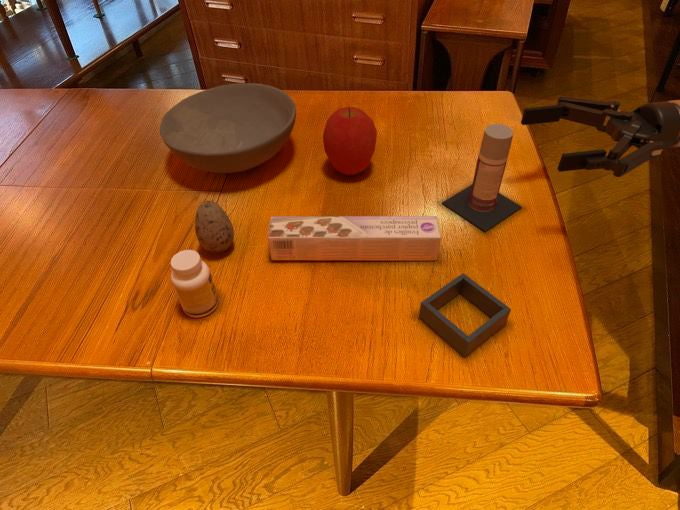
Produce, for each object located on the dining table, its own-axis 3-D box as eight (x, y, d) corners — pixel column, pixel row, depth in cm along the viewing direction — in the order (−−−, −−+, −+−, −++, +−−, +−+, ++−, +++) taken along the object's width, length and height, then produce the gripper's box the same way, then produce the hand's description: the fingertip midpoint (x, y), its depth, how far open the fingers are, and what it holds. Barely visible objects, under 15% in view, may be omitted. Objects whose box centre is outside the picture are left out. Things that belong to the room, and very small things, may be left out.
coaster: (521, 208, 87) (522, 206, 87) (484, 232, 83) (485, 231, 83) (478, 182, 93) (478, 180, 92) (441, 204, 88) (442, 202, 88)
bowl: (263, 208, 89) (255, 163, 82) (145, 179, 96) (128, 135, 89) (320, 135, 106) (317, 92, 98) (216, 114, 113) (206, 73, 106)
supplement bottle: (225, 307, 73) (211, 263, 66) (191, 324, 71) (173, 280, 64) (210, 285, 76) (195, 240, 69) (177, 301, 74) (158, 256, 67)
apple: (384, 178, 94) (387, 113, 84) (335, 190, 92) (332, 125, 82) (364, 150, 101) (364, 87, 91) (318, 161, 99) (313, 97, 89)
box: (434, 238, 82) (438, 213, 78) (438, 261, 78) (442, 235, 74) (273, 240, 83) (269, 215, 79) (270, 263, 79) (265, 238, 75)
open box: (505, 324, 70) (511, 309, 67) (464, 357, 66) (468, 343, 63) (459, 287, 74) (463, 272, 72) (418, 317, 71) (420, 302, 68)
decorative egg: (242, 239, 83) (231, 193, 76) (228, 263, 79) (216, 217, 72) (210, 233, 84) (197, 188, 77) (195, 257, 80) (179, 212, 73)
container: (475, 192, 90) (492, 120, 79) (499, 202, 88) (519, 129, 77) (463, 206, 87) (478, 132, 76) (487, 216, 85) (506, 142, 74)
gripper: (705, 190, 73) (571, 206, 71) (615, 108, 90) (505, 119, 88) (733, 147, 67) (588, 163, 65) (631, 69, 85) (515, 80, 83)
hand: (540, 138), depth 77 cm, fingers open, 13 cm apart
